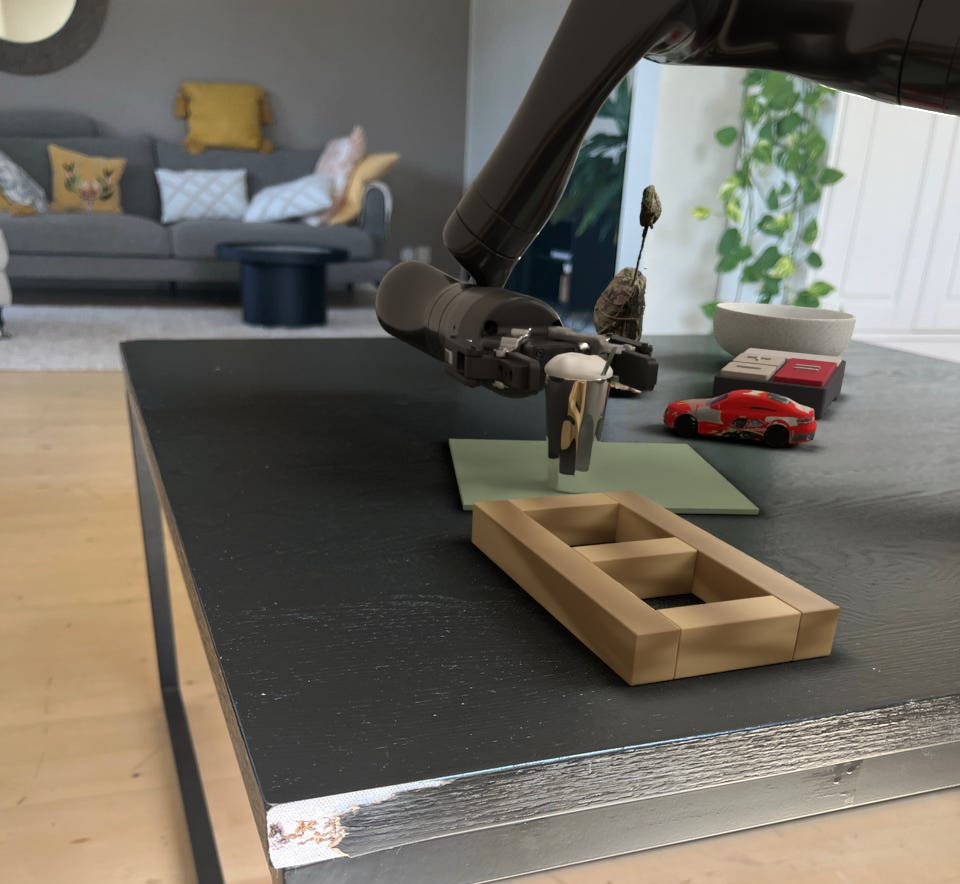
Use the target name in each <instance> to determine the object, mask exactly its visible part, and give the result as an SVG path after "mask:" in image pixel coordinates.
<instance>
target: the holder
mask: <svg viewBox="0 0 960 884" xmlns="http://www.w3.org/2000/svg"><path fill="white" fill-rule="evenodd" d="M471 525H472V526H471V543H472V544H473V545H474V546H476V547H477V549H479V550H480V551H481V552H482V553H483V554H484V555H485V556H486V557H488V558H489V559H490V560H491V561H492V562H493V563H494V564H495V565H496V566H497V567H498V568H500V570H502V571H503V572H504V573H505V574H506V575H507V576H508V577H510V578H511V579H512V580H513V581H514V582H515V583H516V584H517V585H519V587H521V589H523V590H524V591H525V592H526V593H527V594H528V595H529V596H531V597H532V598H533V599H534V600H535V601H536V602H537V603H538V604H540V605H541V607H543V608H544V609H545V610H546V611H547V612H548V613H549V614H550V615H551V616H553V618H555V619H556V620H557V621H558V622H559V623H560V624H562V625H563V627H565V628H566V629H567V630H568V631H569V632H570V633H571V634H573V635H574V636H575V637H576V638H577V639H578V640H579V641H580V642H581V643H582V644H583V645H584V646H586V647H587V648H588V649H589V650H590V651H591V652H592V653H594V654H595V656H597V657H598V658H599V659H600V660H601V661H602V662H603V663H604V664H606V665H607V666H608V667H609V668H610V669H611V670H612V671H613V672H614V673H616V674H617V675H618V676H619V677H620V678H621V679H622V680H623V681H624V682H625V683H627V684H628V686H631V687H633V686H641V685H646V684H653V683H658V682H659V683H660V682H665V681H673V680H679V679H685V678H691V677H697V676H698V677H699V676H702V675H710V674H711V675H712V674H716V673H724V672H729V671H735V670H736V671H737V670H741V669H742V670H743V669H750V668H755V667H762V666H769V665H775V664H782V663H789V662H791V661H793V662H794V661H801V660H808V659H814V658H821V657H827V656H830V655H831V652H832V647H833V642H834V638H835V633H836V628H837V623H838V619H839V614H840V609H841V608H840V606H838V605H837V604H835V603H833V602H831V601H829V600H828V599H826V598H824V597H823V596H820V595H818V594H817V593H815V592H813V590H810V589H808V588H806V587H804V586H803V585H801V584H799V583H797V582H796V581H794V580H792V579H790V578H789V577H787V576H785V575H783V574H781V573H780V572H778V571H776V570H775V569H773V568H771V567H769V566H767V565H765V563H763V562H760V561H759V560H757V559H756V558H753V557H752V556H750V555H748V554H746V553H745V552H743V551H741V550H740V549H737V548H736V547H734V546H732V545H730V544H728V543H727V542H725V541H723V540H721V539H719V538H718V537H716V536H714V535H713V534H711V533H709V532H708V531H706V530H704V529H702V528H701V527H699V526H697V525H695V524H693V523H692V522H689V521H688V520H686V519H684V518H682V517H681V516H679V515H677V513H672V512H670V511H668V510H667V509H665V508H663V507H661V506H660V505H658V504H656V503H654V502H653V501H651V500H649V499H647V498H645V497H644V496H642V495H640V494H638V493H637V492H635V491H633V490H632V491H618V492H605V493H590V494H577V495H564V496H550V497H537V498H524V499H511V500H499V501H486V502H474V503H473V510H472V523H471ZM689 594H692V595H694V596H695V597H697V598H698V599H700V600H701V601H703V602H704V603H701V604H692V605H683V606H676V607H669V608H661V609H660V608H659V609H656V610H655V609H654V608H653V607H651V606H650V605H649V604H647V602H644V601H643V600H646V599H653V598H662V597H671V596H679V595H689Z"/></svg>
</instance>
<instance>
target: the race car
mask: <svg viewBox="0 0 960 884" xmlns="http://www.w3.org/2000/svg"><path fill="white" fill-rule="evenodd" d="M662 418H663V421H662V422H663V424H664V425H665V426H666V427H668V428H669V429H670V428H671V429H675V431H676V432H677V433H678V435H680V436H682V437H683V438H684V437H685V438H686V437H691V436H693V435H694V434H695V433H696V431H697V434H701V435H710V436H718V437H726V438H736V439H741V440H742V439H743V440H752V441H758V442H759V441H760V442H763V441H764V440H765V442H766V443H767V445H768V446H770V447H772V448H776V449H777V448H781V447H783V446H784V445H785V444H786V443H787V442H788V444H789V445H790V444H802V443H807V442H808V443H809V442H810V441H814V438H815V437H816V431H817V428H818V427H817V426H818V423H817V422H816V421H815V418H814V409H812V408H810V407H807V406H803V405H800V404H798V403H796V402H795V401H793V400H791V399H789V398H787V397H784V396H781V395H778V394H774V393H769V392H763V391H756V390H736V391H732V392H729V393H726V394H723V395H720V396H718V397H715V398H712V397H711V398H689V399H682V400H677V401H673V402H671V403H669V404H668V405H667V407H666V409H665V410H664V412H663V417H662Z"/></svg>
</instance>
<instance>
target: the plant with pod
mask: <svg viewBox="0 0 960 884" xmlns="http://www.w3.org/2000/svg"><path fill="white" fill-rule="evenodd" d="M662 210H663V209H662V203H661V200H660V196H659V195H658V192H657V191H656V187H655V186H654V185H653V184H649V185H648V186H646V187H645V188H644V189H643V191H642V197H641V201H640V211H639V218H638V220H639V225H640V227H642V228H643V229H642V233H641V238H642V240H641V245H640V250H639V253H638V255H637V261H636V266H635V267H632V266H629V267H627V266H625V267H624V268H621V270H619V272H618V273H617V274H616V275H614V277H612V278H611V279H612V280H611V281H610V282H609V284H608V285H607V286H606V288H605V289H604V291H603V292H602V293H601V294H600V296H599V298H598V299H597V301H596V303H595V306H594V307H593V309H594V311H593V317H592V318H593V320H592V321H593V325H594V328H595V332H596V334H597V335H603V334H606V333H613V335H617V336H621V337H624V338H628V339H632V340H635V341H639V342H641V338H642V335H643V324H644V315H645V310H646V305H647V304H646V297H645V295H646V293H647V292H646V289H647V277H646V275H644V274H643V273H642V271H641V270H639V267H640V262H641V259H642V252H643V250H644V248H645V241H646V238H647V235H648V231H649V229H650V230H653V229H654V225H655V224H656V223H657V221H658V220H659V219H660V218H661V216H662ZM643 269H644V270H648V268H646V267H643ZM610 388H615V389H616V390H618V389H620V390H621V391H627V392H628V391H630V392H632V393H634V394H642V393H644V392H641V391H638V390H636V389H633V388H631V387H628V386H626V385H622V384H620V383H617V382H611V385H610Z"/></svg>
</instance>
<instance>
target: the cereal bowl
mask: <svg viewBox="0 0 960 884" xmlns="http://www.w3.org/2000/svg"><path fill="white" fill-rule="evenodd" d="M712 319H713V322H712V328H713V334H714V338H715V340H716V342H717V343H718V345H719V346H720V348H721V349H722V350H723V351H725V352H726V353H728V354H729V355H731V356H733V357H734V358H736V357H737V356H738V355H740V354H741V353H743V352H744V351H746V350H747V349H749V348H756V349H765V350H775V351H785V352H794V353H804V354H813V355H823V356H833V357H840V356H841V355H842V353H844V352H845V350H846V349H847V347H848V346H849V344H850V342H851V340H852V337H853V334H854V332H855V331H854V330H855V327H856V326H855V325H856V322H857V321H856V320H857V318H856V315H854V314H851V313H849V312H845V311H839V310H832V309H826V308H817V307H808V306H797V305H788V304H787V305H786V304H774V303H760V302H759V303H758V302H757V303H756V302H755V303H754V302H719V303H717V304H716V305H715V308H714V314H713V318H712Z"/></svg>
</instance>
